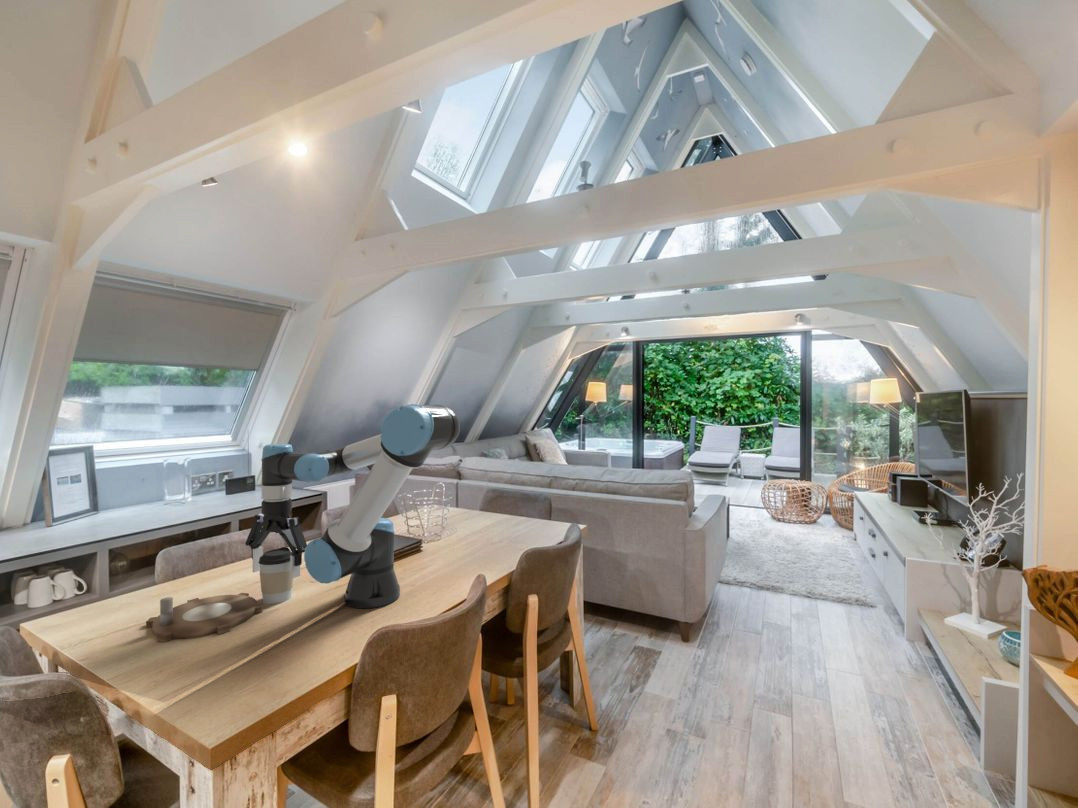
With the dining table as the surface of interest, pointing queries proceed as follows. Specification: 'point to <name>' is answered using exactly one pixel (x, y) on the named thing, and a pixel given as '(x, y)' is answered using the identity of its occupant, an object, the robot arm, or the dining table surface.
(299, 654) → the dining table surface
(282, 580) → the coffee cup
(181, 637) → the index disc
